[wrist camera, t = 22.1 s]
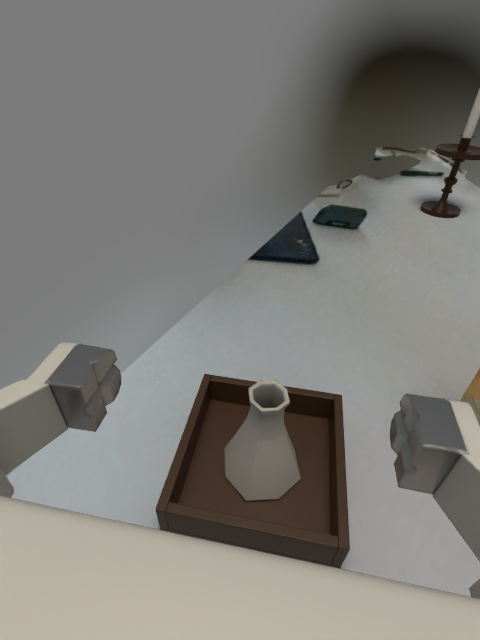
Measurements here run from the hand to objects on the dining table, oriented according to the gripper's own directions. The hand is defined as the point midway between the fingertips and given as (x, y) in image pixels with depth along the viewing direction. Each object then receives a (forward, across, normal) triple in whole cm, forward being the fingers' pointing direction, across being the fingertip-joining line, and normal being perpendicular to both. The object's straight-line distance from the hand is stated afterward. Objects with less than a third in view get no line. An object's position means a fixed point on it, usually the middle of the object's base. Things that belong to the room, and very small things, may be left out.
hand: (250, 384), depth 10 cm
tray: (+12, 0, +25) cm, 28 cm away
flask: (+12, 0, +24) cm, 27 cm away
